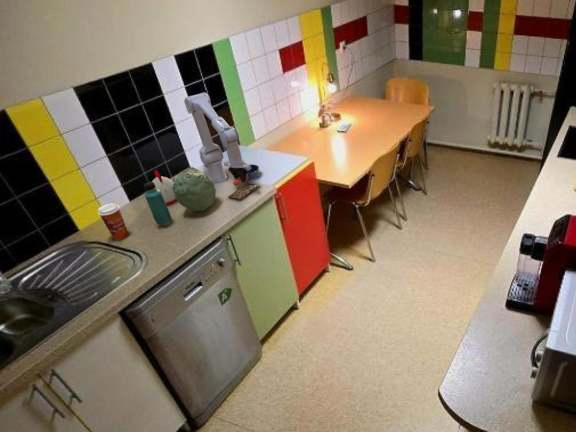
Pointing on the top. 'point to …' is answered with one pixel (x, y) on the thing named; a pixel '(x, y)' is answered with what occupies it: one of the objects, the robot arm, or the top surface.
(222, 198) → the top surface
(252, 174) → the dark blue bowl
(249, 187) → the board
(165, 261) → the top surface
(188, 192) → the cabbage
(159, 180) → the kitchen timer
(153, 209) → the beverage bottle
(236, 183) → the hot dog
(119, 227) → the paper cup
